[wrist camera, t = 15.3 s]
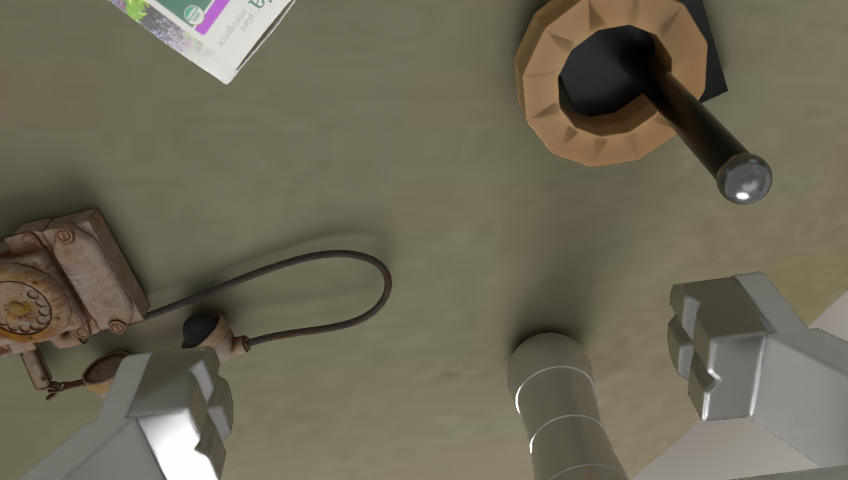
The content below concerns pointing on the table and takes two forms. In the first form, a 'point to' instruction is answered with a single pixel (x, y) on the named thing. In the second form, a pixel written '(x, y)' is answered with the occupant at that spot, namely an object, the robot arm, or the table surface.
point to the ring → (634, 123)
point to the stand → (664, 100)
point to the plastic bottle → (561, 410)
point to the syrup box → (210, 28)
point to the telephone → (108, 298)
